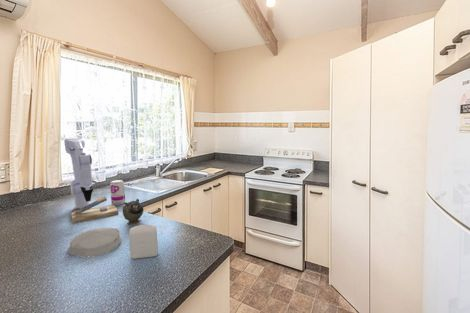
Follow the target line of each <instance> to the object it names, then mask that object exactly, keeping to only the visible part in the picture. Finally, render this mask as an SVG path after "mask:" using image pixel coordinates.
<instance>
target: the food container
mask: <svg viewBox="0 0 470 313" xmlns="http://www.w3.org/2000/svg"><path fill="white" fill-rule="evenodd" d="M120 235H121V233H120V230H119V229H118V228H117V227H115V228H114V227H98V228H92V229H89V230H88V229H87V230H86V231H84V232H81V233H80V234H77V235H76V236H74V237H73V238H72V239H71V240H70V242H69V247H68V248H67V251H68V253H69V254H70V255H71V256H73V257H78V258H79V259H80V258H81V257H83V256H84V258H85V257H87V258H94V257H93V256H95V257H98V256H97V255H99V256H101V254H102V255H106V254H107V253H110V252H113V251H114V250H116V249H117V248H118V247H119V246H120V244H121V242H122V240H123V238H122V237H121V236H120ZM88 256H89V257H88ZM84 258H83V259H84ZM81 259H82V258H81Z"/></svg>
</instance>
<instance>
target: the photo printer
mask: <svg viewBox="0 0 470 313" xmlns="http://www.w3.org/2000/svg"><path fill="white" fill-rule="evenodd" d="M128 237H129V239H128V240H129V251H130V259H143V258H145V259H146V258H151V257H156V256H158V255H159V242H158V231H157V227H156V225H152V224H151V225H150V224H141V225H135V226H133V227H131V228H130V229H129V232H128Z"/></svg>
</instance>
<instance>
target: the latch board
mask: <svg viewBox="0 0 470 313" xmlns="http://www.w3.org/2000/svg"><path fill="white" fill-rule="evenodd" d="M77 209H80V207H77V208H74V211H72V212H70V213H71V220H72V224H77V223H80V222H85V221H90V220H96V219H100V218H101V219H102V218H106V217H112V216H116V215H119V210H118V208H117V207H116V205H113V204H108V205H104V206H98V207H92V208H90V209H88V210H86V211H84V212H82V213H81V210H80V211H76V210H77Z"/></svg>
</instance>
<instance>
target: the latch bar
mask: <svg viewBox="0 0 470 313" xmlns="http://www.w3.org/2000/svg"><path fill="white" fill-rule="evenodd" d="M106 201H107V197H106V196H103V197H100V198H97V200H95V201H93V202H91V203H89V205H87V206H85V207H82V208H80V209H77V210H76V211H80V210H81V213H82V212H84V211H86V210H88V209H92V208H95V207H96V206H98V205H99V204H102V203H105V202H106Z"/></svg>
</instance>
